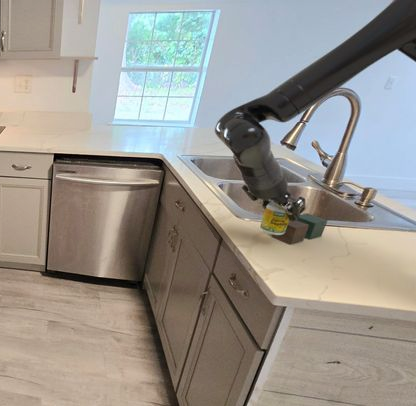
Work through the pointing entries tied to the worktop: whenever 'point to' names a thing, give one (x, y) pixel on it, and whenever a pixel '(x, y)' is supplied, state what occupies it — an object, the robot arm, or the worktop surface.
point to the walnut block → (293, 232)
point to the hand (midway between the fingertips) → (281, 213)
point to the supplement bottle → (274, 220)
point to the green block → (313, 225)
